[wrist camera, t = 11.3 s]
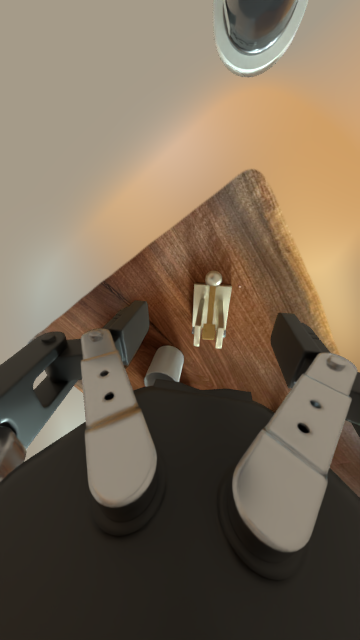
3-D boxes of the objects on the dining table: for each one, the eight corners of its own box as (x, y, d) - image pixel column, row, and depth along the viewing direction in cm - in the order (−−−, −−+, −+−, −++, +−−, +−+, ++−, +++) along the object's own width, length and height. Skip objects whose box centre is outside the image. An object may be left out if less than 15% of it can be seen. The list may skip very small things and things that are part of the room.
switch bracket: (194, 282, 42) (186, 307, 31) (231, 284, 41) (236, 311, 30) (192, 324, 48) (185, 358, 37) (225, 327, 46) (227, 363, 35)
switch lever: (205, 273, 38) (205, 267, 34) (222, 274, 37) (223, 268, 34) (199, 338, 37) (198, 338, 33) (216, 340, 36) (217, 340, 33)
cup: (188, 364, 55) (183, 393, 46) (164, 370, 57) (154, 398, 49) (175, 342, 51) (166, 368, 43) (150, 349, 54) (137, 375, 46)
